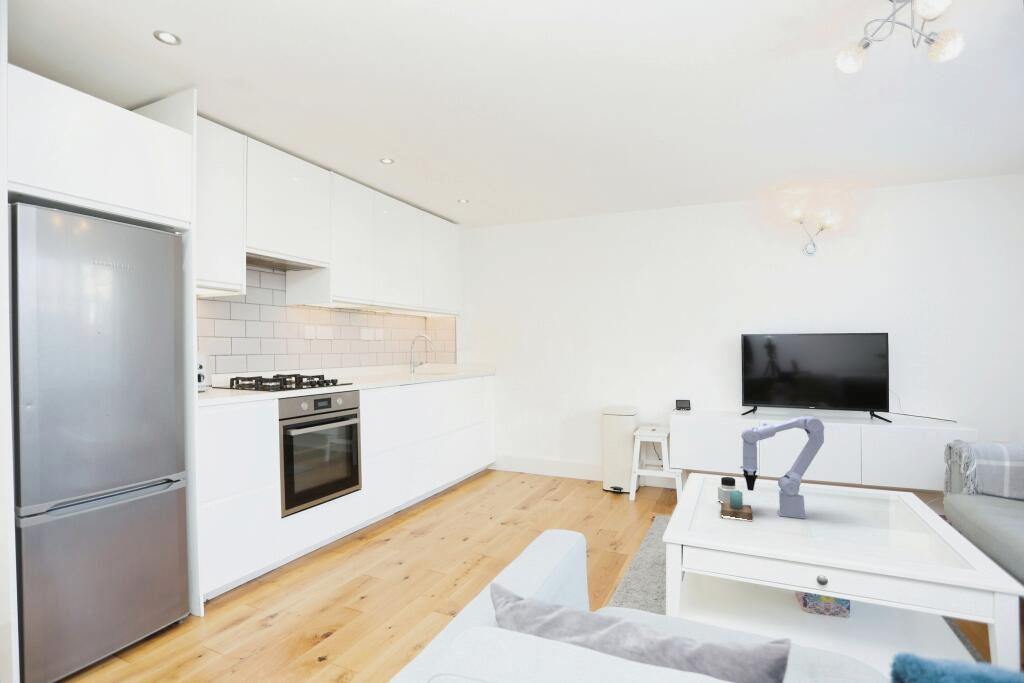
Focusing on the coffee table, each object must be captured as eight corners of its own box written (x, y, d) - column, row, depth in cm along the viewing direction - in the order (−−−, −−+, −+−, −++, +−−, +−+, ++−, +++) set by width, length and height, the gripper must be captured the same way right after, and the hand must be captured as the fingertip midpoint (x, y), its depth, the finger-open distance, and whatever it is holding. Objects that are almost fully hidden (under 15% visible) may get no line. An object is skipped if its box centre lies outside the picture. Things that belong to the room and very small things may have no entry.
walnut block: (751, 514, 223) (750, 505, 224) (752, 522, 212) (752, 513, 212) (721, 511, 228) (721, 502, 228) (721, 519, 217) (721, 509, 217)
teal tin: (743, 506, 221) (742, 491, 222) (742, 509, 217) (742, 494, 217) (730, 505, 223) (730, 490, 224) (729, 508, 219) (729, 493, 219)
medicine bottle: (739, 505, 235) (739, 479, 236) (723, 505, 235) (723, 479, 236) (733, 501, 242) (732, 475, 243) (717, 501, 242) (717, 475, 243)
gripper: (739, 453, 234) (739, 483, 234) (740, 459, 221) (740, 491, 220) (756, 454, 232) (756, 485, 231) (758, 460, 218) (758, 492, 218)
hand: (750, 488), depth 226 cm, fingers open, 7 cm apart
